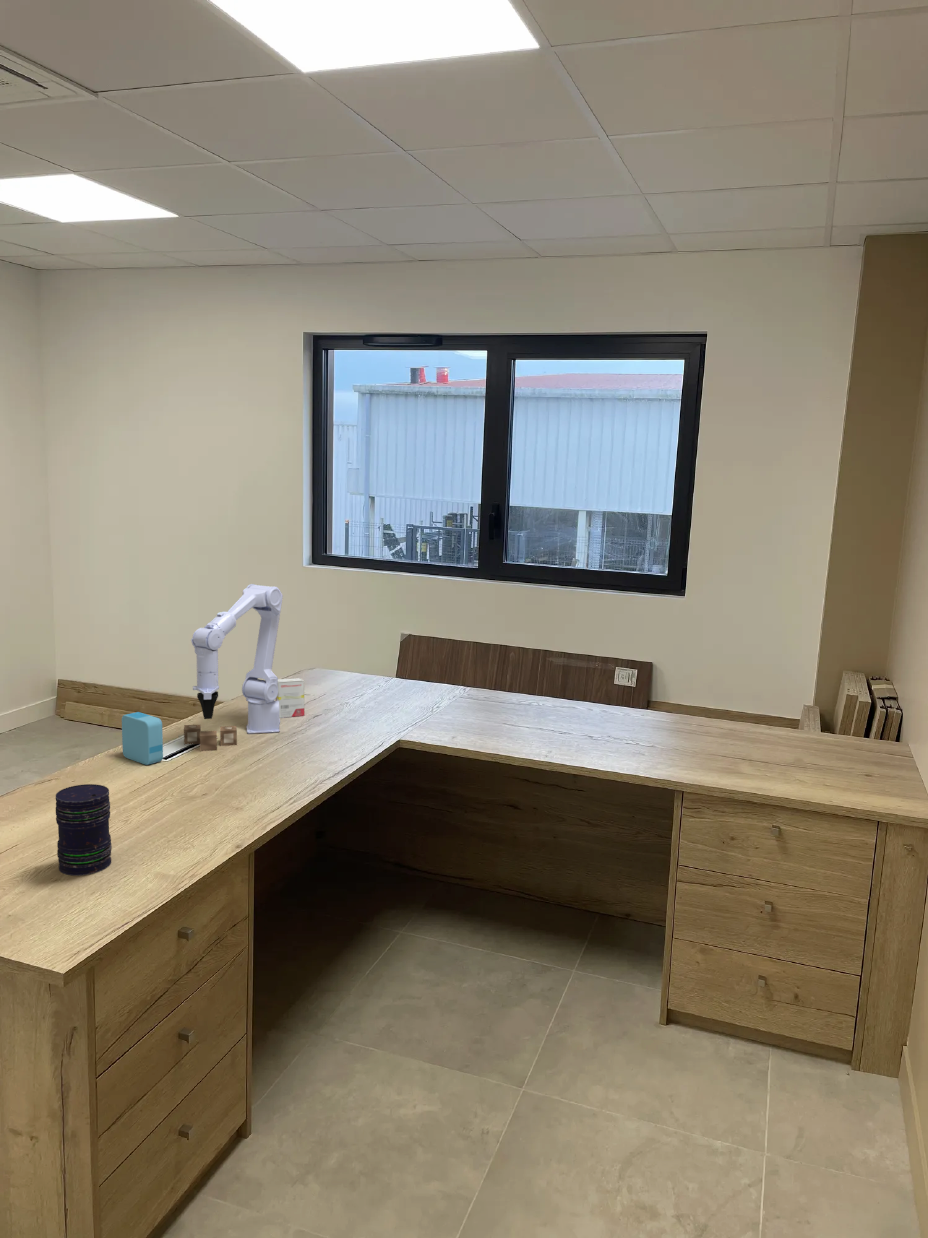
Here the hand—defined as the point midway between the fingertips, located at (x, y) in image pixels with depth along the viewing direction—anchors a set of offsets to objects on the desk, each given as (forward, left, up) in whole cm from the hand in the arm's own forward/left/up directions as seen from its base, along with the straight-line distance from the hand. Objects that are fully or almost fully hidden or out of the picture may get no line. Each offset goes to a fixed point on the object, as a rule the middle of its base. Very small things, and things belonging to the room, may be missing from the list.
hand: (208, 718), depth 249 cm
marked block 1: (+4, -7, -9) cm, 12 cm away
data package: (+17, +7, -9) cm, 20 cm away
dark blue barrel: (+23, +72, -9) cm, 76 cm away
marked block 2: (-6, -4, -9) cm, 11 cm away
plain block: (0, 0, -9) cm, 9 cm away
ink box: (-25, -31, -9) cm, 41 cm away
